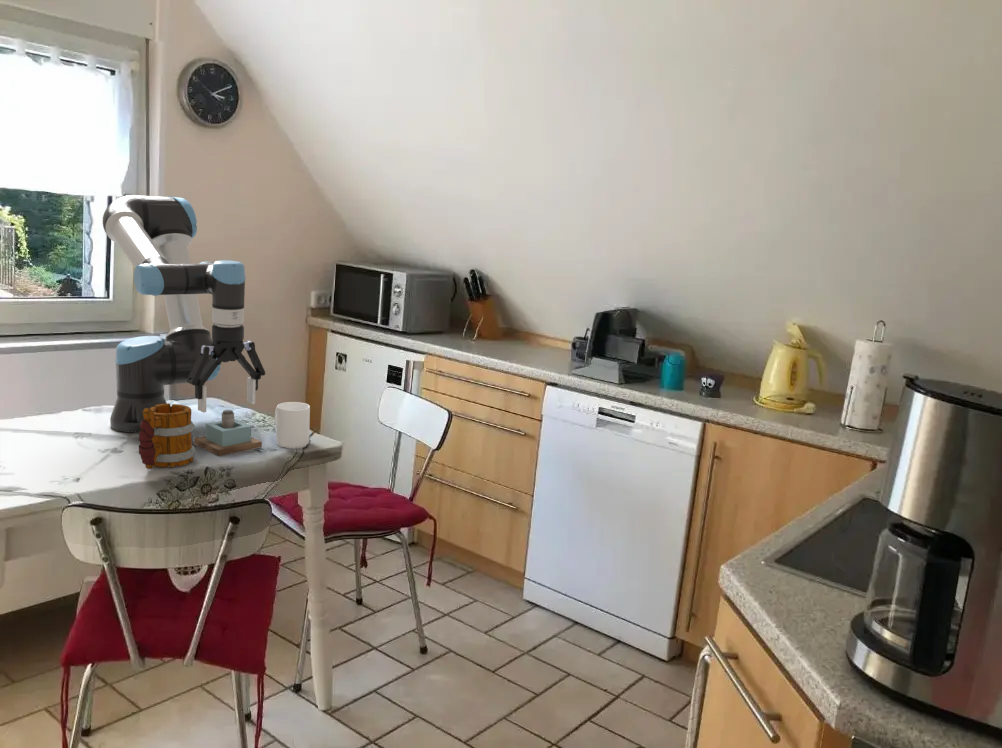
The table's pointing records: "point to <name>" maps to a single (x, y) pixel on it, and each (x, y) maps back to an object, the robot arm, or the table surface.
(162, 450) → the mug
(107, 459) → the table surface
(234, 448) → the post block
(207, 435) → the ring
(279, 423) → the cup
